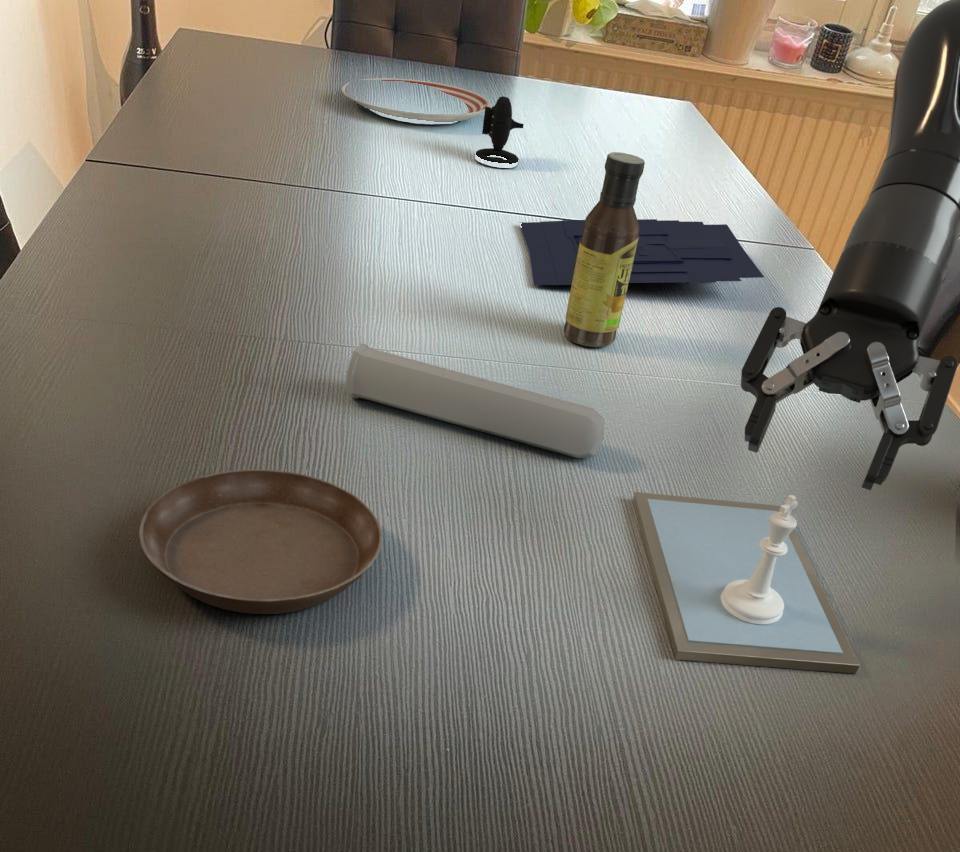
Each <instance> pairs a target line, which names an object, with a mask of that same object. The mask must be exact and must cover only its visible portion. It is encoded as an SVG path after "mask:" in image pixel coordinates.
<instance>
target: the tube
mask: <svg viewBox="0 0 960 852" xmlns="http://www.w3.org/2000/svg"><path fill="white" fill-rule="evenodd" d="M345 393H346V394H347V395H348V396H349V398H351V399H354V400H358V399H363V400H366V401H370V402H374V403H378V404H382V405H385V406H388V407H392V408H396V409H399V410H403V411H406V412H409V413H413V414H416V415H419V416H420V415H421V416H424V417H427V418H431V419H434V420H438V421H443V422H445V423H450V424H452V425H457V426H460V427H464V428H467V429H470V430H473V431H477V432H482V433H486V434H488V435H493V436H496V437H499V438H503V439H507V440H510V441H512V442H513V441H514V442H517V443H521V444H525V445H528V446H532V447H536V448H539V449H542V450H546V451H548V452H549V451H550V452H553V453H557V454H560V455H564V456H568V457H570V458H571V457H572V458H575V459H577V460H578V459H579V460H581V459H587V458H591V457H595V455H596V454H597V451H598V450H599V448H600V446H601V444H602V443H603V440H604V439H605V417H603V416H602V414H600V413H599V412H598V411H597V410H595V409H594V408H593V407H589V406H586V405H583V404H578V403H574V402H571V401H567V400H563V399H560V398H556V397H552V396H549V395H545V394H542V393H538V392H534V391H530V390H527V389H523V388H519V387H517V386H516V387H515V386H511V385H508V384H504V383H501V382H497V381H493V380H491V379H490V380H489V379H486V378H482V377H479V376H475V375H472V374H468V373H467V374H466V373H463V372H461V371H457V370H453V369H449V368H445V367H442V366H438V365H434V364H431V363H427V362H423V361H419V360H416V359H413V358H410V357H409V358H408V357H405V356H401V355H397V354H394V353H389V352H387V351H382V350H378V349H377V348H376V349H375V348H371V347H370V346H369V345H368V344H367V343H364V342H362V343H360V345H358V346H357V347H356V348H355V349H354V350H353V351H352V354H351V357H350V361H349V363H348V367H347V371H346V383H345Z"/></svg>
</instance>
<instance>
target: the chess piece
mask: <svg viewBox="0 0 960 852" xmlns="http://www.w3.org/2000/svg"><path fill="white" fill-rule="evenodd" d="M798 505H799V501H797V496H795V495H793V494H790V495H788V496H787V498H786V501H785V503H784V504H781V505H779V506H780V509H779V511H780V512H775V513H773V514H771V515H770V518H769V524H770V530H769V537H765V538H763V539H762V540H761V541H760V542H759V546H760V548H761V549H762V550H763V551H765V552H764V554H763V556H762V558H761V560H760V562H759V564H758V565H757V567H756V569H755V571H754V573H753V575H752V576H751V578H750V580H736V581H733V582H730V583H729V584H727V585H726V587H725V588H724V591H723V592H722V594H721V602H722V605H723V606H724V608H725V609H726V610H727V611H728V612H729V613H730V614H732V615H733V616H735V617H736V618H738V619H740V620H743V621H745V622H749V623H753V624H760V625H765V624H772V623H775V622H777V621H778V620H779V619H780V618H781V617H782V615H783V610H784V602H783V600H782V598H781V596H780V595H779V594H778V593H777V592H776V591H775V590H774V589H772V588H771V587H770V584H771V579H772V574H773V570H774V566H775V562H776V558H777V556H782V555H785V554H786V553H787V545H786V544H785V543H784V542H783V541H784V540H785V539H786V538H787V536H788V535H789V534H790V533H791V532H792V531H793V530H794V529H795V530H796V527H797V525H798V521H797V519H796V518H795V517H794V515H791V514H792V511H793V510H794V509H796V508H797V507H798Z"/></svg>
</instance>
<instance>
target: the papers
mask: <svg viewBox="0 0 960 852" xmlns="http://www.w3.org/2000/svg"><path fill="white" fill-rule="evenodd" d="M637 221H638V223H639V234H638V235H639V238H638V243H637V248H636V252H635V256H634V261H633V265H632V271H631V275H630V279H629V283H628V284H638V283H639V284H650V283H651V284H653V283H654V284H655V283H659V284H660V283H661V284H662V283H685V284H715V283H717V282H742V279H754V278H756V279H757V278H759V279H760V278H761V279H762V278H765V276H764V274H763V273H762V271H761V270H760V269H759V268H758V266H757V265H756V264H755V263H754V260H752V258H751V257H750V255H748V253H747V252H746V250H745V249H744V247H743V246H742V244H741V243H740V242H739V240H738V238H737V237H736V236H735V234H734V233H733V231H732V230H731V228H730V226H729V225H728V224H726V223H725V224H722V223H721V224H705V223H704V222H703V221H680V220H678V219H677V220H666V219H665V220H658V219H656V218H652V219H651V218H650V219H647V218H645V219H642V218H641V219H640V218H639V219H638V218H637ZM521 223H522V224H521V226H522V228H520V231H521V234H522V236H523V239H524V241H525V245H526V247H527V249H528V252H529V259H530V261H529V262H530V268H531V276H532V282H533V286H572V281H573V275H574V270H575V265H576V260H577V255H578V250H579V244H580V240H581V239H582V234H583V228H584V223H585V219H562V220H547V221H530V222H529V221H528V222H527V221H526V222H521Z"/></svg>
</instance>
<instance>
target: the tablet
mask: <svg viewBox="0 0 960 852" xmlns="http://www.w3.org/2000/svg"><path fill="white" fill-rule="evenodd" d="M632 504H633V508H634V511H635V515H636V518H637V522H638V526H639V530H640V533H641V537H642V541H643V545H644V548H645V552H646V556H647V560H648V562H649V566H650V571H651V573H652V579H653V581H654V585H655V589H656V592H657V593H656V594H657V596H658V600H659V604H660V608H661V611H662V615H663V618H664V623H665V626H666V629H667V634H668V638H669V641H670V644H671V648H672V653H673V656H674V660H675V661H686V662H687V661H689V662H702V663H711V664H712V663H715V664H725V665H727V664H728V665H739V666H751V667H764V668H777V669H778V668H779V669H789V670H802V671H815V672H826V673H827V672H828V673H839V674H851V675H853V674H854V675H856V674H857V672H858V670H859V667H860V663H859V661H858V659H857V656H856V654H855V653H854V651H853V648H852V647H851V644H850V642H849V639H848V638H847V636H846V634H845V631H844V629H843V627H842V625H841V623H840V621H839V619H838V617H837V614H836V613H835V611H834V609H833V606H832V604H831V602H830V600H829V598H828V596H827V593H826V592H825V590H824V588H823V586H822V583H821V581H820V579H819V577H818V575H817V573H816V571H815V568H814V566H813V564H812V562H811V560H810V559H809V556H808V553H807V552H806V550H805V547H804V545H803V543H802V541H801V539H800V537H799V535H798V533H797V531H796V528H795V529H794V530H793V531H792V532H791V533H790V534H789V535H788V536H787V538H786V539H785V540H784V541H783V542H784V543H785V544H786V545H787V553H786V554H785V555H782V556H777V558H776V562H775V566H774V570H773V574H772V579H771V584H770V587H771V588H772V589H774V590H775V591H776V592H777V593H778V594H779V595H780V596H781V598H782V600H783V602H784V610H783V615H782V617H781V618H780V619H779V620H778V621H777V622H775V623H772V624H765V625H760V624H753V623H749V622H745V621H743V620H740V619H738V618H736V617H735V616H733V615H732V614H730V613H729V612H728V611H727V610H726V609H725V608H724V606H723V605H722V602H721V594H722V592H723V591H724V588H725V587H726V585H727V584H729V583H730V582H733V581H736V580H750V578H751V576H752V575H753V573H754V571H755V569H756V567H757V565H758V564H759V562H760V560H761V558H762V556H763V554H764V552H765V551H763V550H762V549H761V548H760V546H759V542H760V541H761V540H762V539H763V538H765V537H769V530H770V524H769V518H770V515H771V514H773V513H775V512H780V511H779V509H780V506H781V505H776V504H765V503H754V502H744V501H734V500H725V499H724V500H723V499H713V498H704V497H702V498H701V497H693V496H681V495H672V494H671V495H670V494H663V493H661V494H659V493H651V492H642V491H641V492H639V491H634V492H633V496H632Z"/></svg>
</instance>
